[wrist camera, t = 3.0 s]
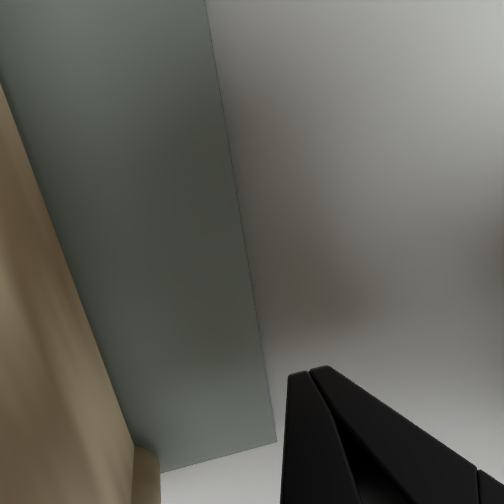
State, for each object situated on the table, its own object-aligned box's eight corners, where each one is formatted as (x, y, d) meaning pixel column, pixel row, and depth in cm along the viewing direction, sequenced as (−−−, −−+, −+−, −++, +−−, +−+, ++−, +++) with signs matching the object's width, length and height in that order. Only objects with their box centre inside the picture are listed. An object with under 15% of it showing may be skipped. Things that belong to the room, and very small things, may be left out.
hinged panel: (-125, 15, 7) (-965, -83, 2) (0, -2, 8) (-415, -138, 2) (99, 504, 13) (57, 844, 7) (167, 485, 13) (175, 803, 8)
